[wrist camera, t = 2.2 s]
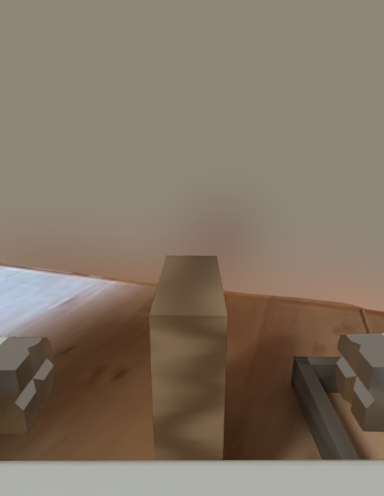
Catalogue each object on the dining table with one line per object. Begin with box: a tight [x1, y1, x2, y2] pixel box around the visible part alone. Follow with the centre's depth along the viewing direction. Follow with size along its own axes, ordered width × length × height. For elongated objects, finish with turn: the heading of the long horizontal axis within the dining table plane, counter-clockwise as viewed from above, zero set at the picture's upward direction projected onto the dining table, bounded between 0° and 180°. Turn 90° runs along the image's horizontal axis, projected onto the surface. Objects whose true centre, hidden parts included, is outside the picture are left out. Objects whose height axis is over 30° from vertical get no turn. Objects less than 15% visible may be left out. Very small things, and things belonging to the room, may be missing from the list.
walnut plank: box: [149, 256, 228, 460], centre depth 24 cm, size 4×10×14 cm, turn 179°
